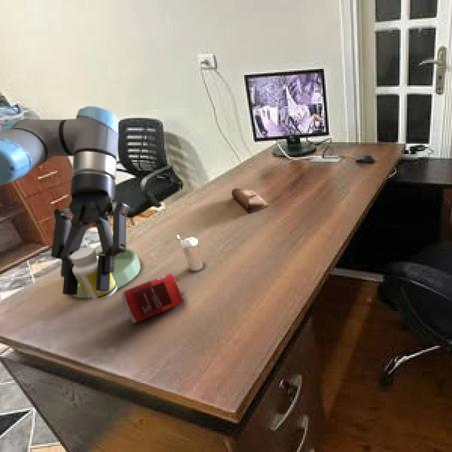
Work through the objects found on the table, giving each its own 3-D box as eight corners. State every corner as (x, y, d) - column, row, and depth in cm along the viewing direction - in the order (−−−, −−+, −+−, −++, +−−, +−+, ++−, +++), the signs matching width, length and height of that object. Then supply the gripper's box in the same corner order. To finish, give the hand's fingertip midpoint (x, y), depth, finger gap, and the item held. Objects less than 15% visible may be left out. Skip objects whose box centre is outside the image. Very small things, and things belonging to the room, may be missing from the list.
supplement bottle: (122, 283, 73) (103, 243, 68) (110, 300, 68) (88, 259, 64) (96, 286, 73) (75, 246, 68) (82, 303, 68) (58, 262, 63)
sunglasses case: (270, 204, 127) (258, 193, 123) (256, 218, 126) (244, 207, 122) (251, 190, 141) (240, 179, 137) (239, 203, 140) (228, 192, 136)
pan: (54, 302, 89) (47, 290, 87) (90, 262, 104) (84, 251, 103) (124, 293, 90) (118, 281, 88) (149, 255, 105) (145, 244, 103)
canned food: (176, 283, 88) (128, 302, 83) (169, 266, 82) (118, 285, 77) (186, 308, 85) (137, 329, 80) (180, 292, 79) (126, 313, 74)
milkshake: (193, 261, 100) (182, 231, 95) (208, 264, 98) (198, 233, 93) (182, 271, 96) (171, 240, 91) (198, 273, 94) (187, 242, 90)
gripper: (148, 181, 76) (146, 288, 70) (62, 190, 75) (52, 299, 69) (129, 166, 69) (124, 284, 63) (33, 176, 68) (19, 296, 62)
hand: (86, 292), depth 66 cm, fingers closed on supplement bottle, 5 cm apart
